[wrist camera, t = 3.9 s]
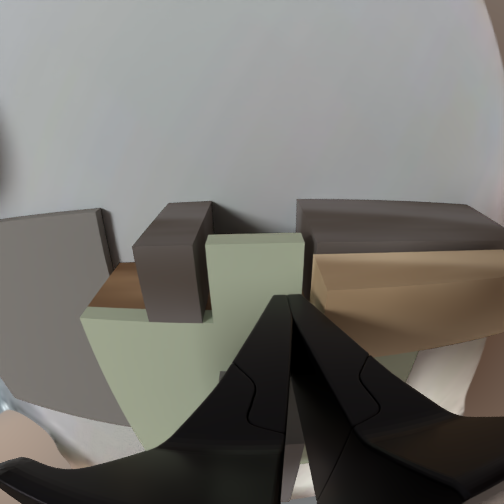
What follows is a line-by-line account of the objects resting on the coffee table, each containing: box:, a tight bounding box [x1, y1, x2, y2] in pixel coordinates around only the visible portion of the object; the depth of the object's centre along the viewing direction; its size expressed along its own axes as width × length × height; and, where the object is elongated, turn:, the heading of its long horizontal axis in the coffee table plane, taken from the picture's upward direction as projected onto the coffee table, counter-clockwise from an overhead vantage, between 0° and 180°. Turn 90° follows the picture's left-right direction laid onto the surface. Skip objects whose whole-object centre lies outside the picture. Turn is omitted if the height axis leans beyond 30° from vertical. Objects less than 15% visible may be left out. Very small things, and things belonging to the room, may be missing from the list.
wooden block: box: [310, 249, 504, 357], centre depth 9 cm, size 2×8×2 cm, turn 91°
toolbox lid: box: [80, 233, 418, 502], centre depth 11 cm, size 15×14×4 cm
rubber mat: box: [0, 208, 131, 427], centre depth 17 cm, size 18×17×1 cm
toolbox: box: [87, 199, 504, 323], centre depth 15 cm, size 15×18×5 cm
